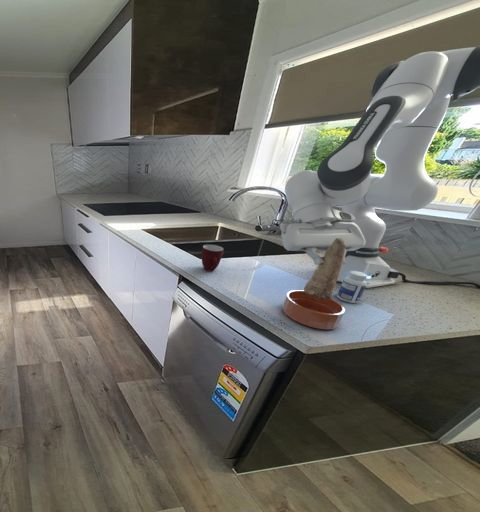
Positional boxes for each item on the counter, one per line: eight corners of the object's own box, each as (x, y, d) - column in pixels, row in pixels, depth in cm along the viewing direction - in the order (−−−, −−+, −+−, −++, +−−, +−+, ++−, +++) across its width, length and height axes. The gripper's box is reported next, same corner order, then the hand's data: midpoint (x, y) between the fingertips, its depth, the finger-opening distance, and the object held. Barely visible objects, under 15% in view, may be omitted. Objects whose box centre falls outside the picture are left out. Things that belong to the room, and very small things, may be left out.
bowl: (311, 304, 80) (316, 289, 78) (351, 330, 68) (358, 314, 66) (271, 304, 80) (276, 290, 78) (304, 331, 68) (311, 315, 66)
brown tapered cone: (297, 291, 74) (314, 302, 68) (314, 235, 66) (334, 244, 61) (319, 289, 74) (337, 300, 68) (337, 233, 66) (360, 241, 61)
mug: (225, 276, 99) (230, 253, 95) (205, 276, 99) (209, 253, 96) (214, 265, 109) (218, 244, 105) (196, 265, 109) (199, 244, 105)
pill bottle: (351, 295, 84) (362, 270, 80) (362, 304, 79) (375, 278, 76) (332, 294, 85) (343, 269, 82) (342, 302, 81) (354, 276, 77)
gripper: (285, 214, 69) (300, 259, 64) (359, 214, 68) (380, 260, 63) (271, 225, 75) (284, 267, 70) (339, 225, 74) (357, 268, 69)
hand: (330, 264), depth 66 cm, fingers closed on brown tapered cone, 4 cm apart
